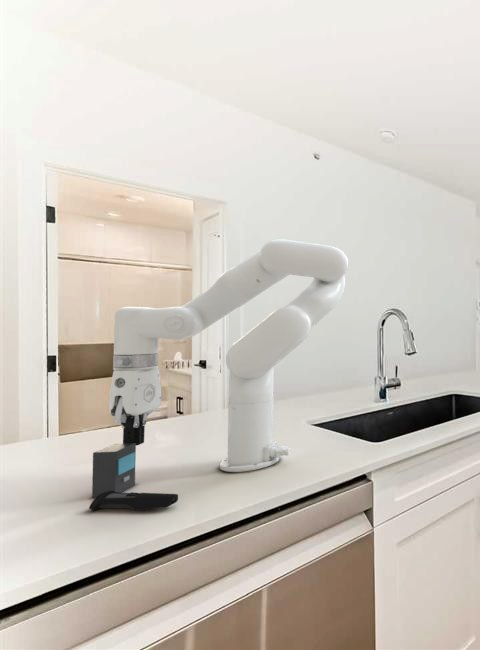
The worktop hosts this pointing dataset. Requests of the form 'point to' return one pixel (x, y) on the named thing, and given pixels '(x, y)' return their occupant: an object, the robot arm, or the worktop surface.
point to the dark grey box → (114, 468)
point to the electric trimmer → (133, 500)
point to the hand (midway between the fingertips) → (133, 444)
